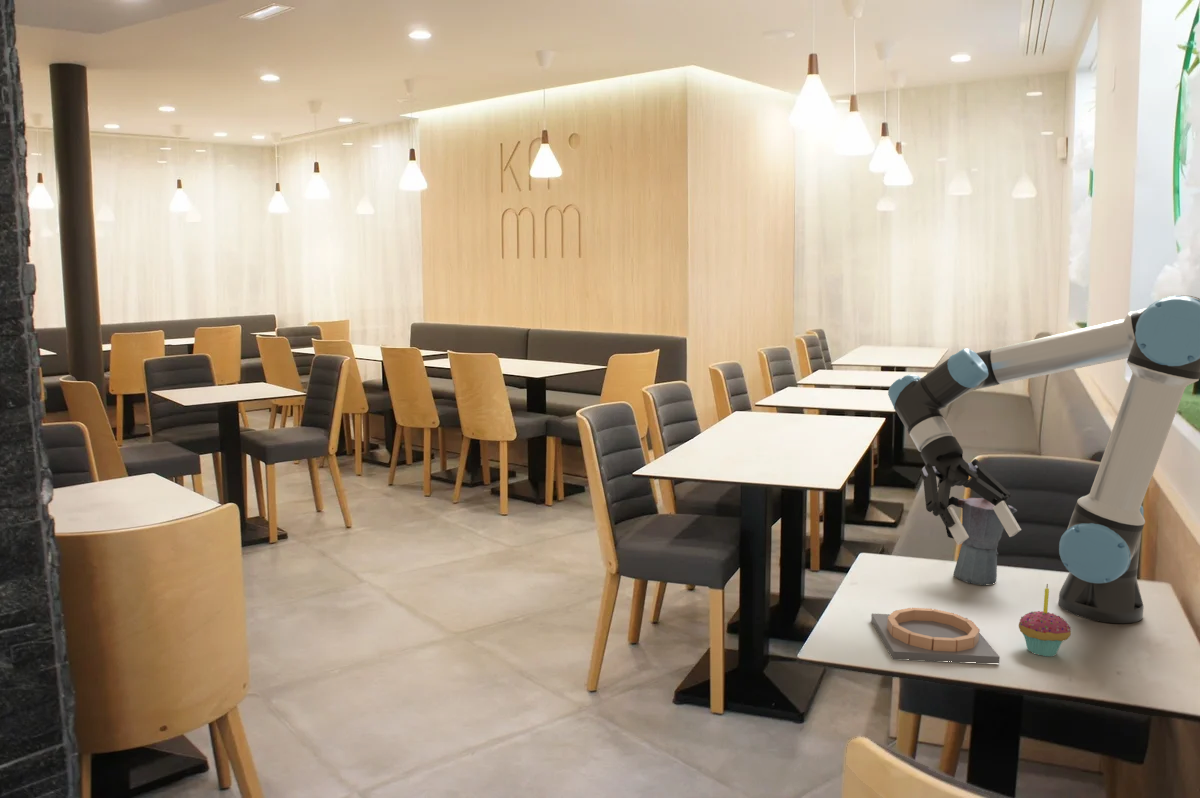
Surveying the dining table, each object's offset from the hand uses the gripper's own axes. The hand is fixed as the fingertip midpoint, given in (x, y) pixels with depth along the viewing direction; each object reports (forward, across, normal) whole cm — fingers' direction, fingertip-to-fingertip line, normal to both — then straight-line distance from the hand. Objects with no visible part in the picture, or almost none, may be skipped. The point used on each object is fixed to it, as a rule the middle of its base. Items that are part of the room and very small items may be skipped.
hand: (989, 537), depth 179 cm
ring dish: (+14, +15, -11) cm, 23 cm away
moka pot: (-2, -20, -27) cm, 34 cm away
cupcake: (+22, 0, -3) cm, 22 cm away
